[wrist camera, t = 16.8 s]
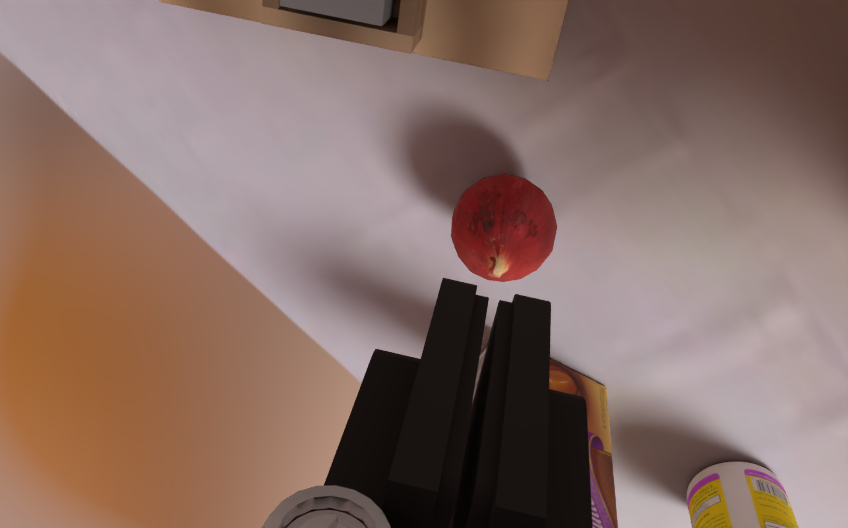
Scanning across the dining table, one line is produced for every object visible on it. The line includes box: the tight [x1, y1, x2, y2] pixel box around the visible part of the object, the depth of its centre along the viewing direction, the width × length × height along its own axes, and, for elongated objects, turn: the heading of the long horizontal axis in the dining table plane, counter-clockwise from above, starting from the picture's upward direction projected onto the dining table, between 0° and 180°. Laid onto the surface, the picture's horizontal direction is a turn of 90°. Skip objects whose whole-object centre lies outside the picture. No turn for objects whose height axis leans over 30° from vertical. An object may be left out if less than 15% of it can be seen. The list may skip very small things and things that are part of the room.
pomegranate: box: [451, 174, 557, 282], centre depth 38 cm, size 6×6×8 cm
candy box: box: [472, 348, 618, 528], centre depth 41 cm, size 9×4×15 cm, turn 64°
